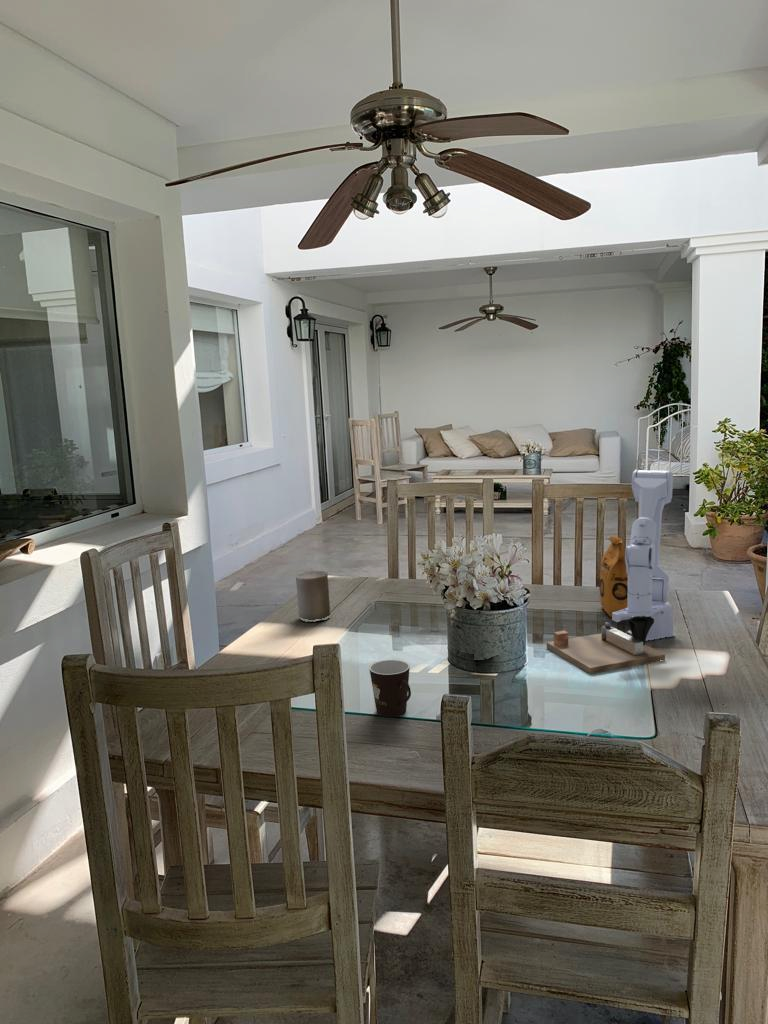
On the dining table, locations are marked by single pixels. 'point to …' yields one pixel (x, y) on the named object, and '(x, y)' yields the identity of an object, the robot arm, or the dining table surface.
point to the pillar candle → (313, 595)
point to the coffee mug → (390, 687)
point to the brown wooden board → (599, 653)
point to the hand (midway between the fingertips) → (639, 645)
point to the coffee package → (614, 578)
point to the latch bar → (621, 639)
